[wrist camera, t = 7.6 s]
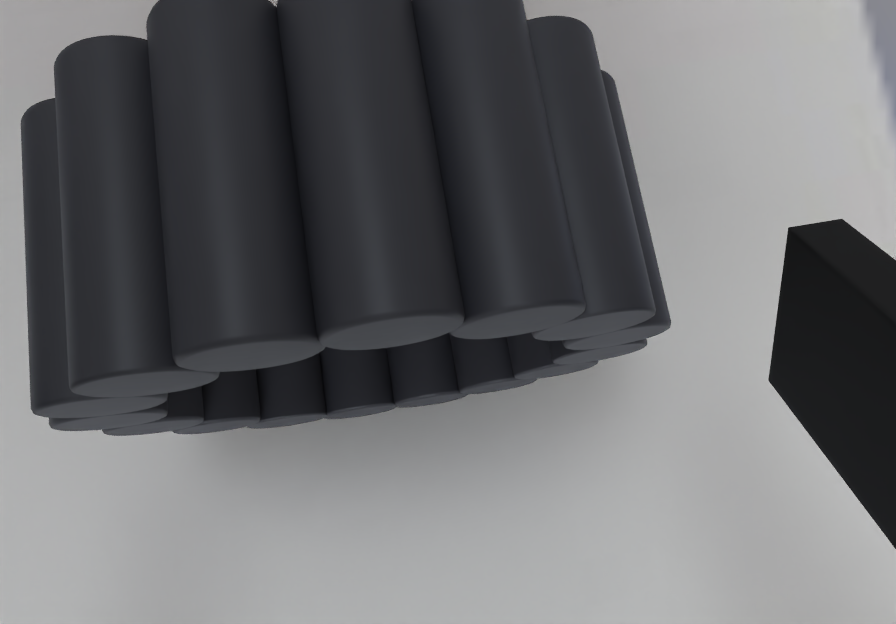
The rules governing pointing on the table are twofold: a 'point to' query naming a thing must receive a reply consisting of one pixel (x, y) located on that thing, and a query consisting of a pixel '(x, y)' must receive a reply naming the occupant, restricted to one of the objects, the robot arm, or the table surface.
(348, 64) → the dark grey spur gear
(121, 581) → the table surface
